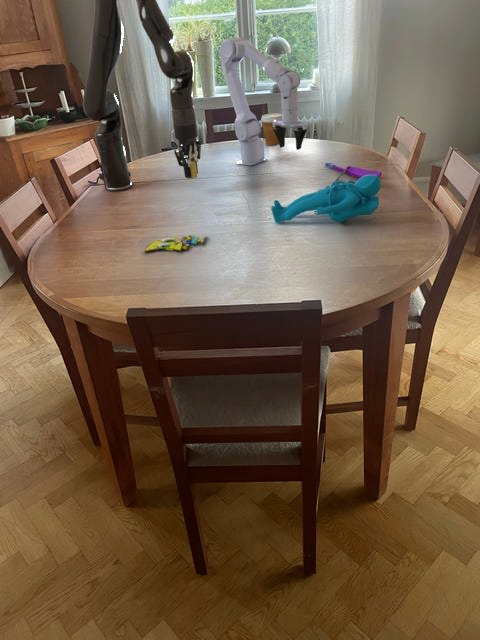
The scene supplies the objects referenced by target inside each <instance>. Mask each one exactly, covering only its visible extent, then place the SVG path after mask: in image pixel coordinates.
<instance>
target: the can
mask: <svg viewBox="0 0 480 640" xmlns="http://www.w3.org/2000/svg"><path fill="white" fill-rule="evenodd" d="M190 167H191V175H192V177H191V178H187V179H189V180H192V179H196V178H198V174H197V170H196V162H190Z"/></svg>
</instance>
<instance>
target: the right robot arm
mask: <svg viewBox="0 0 480 640" xmlns="http://www.w3.org/2000/svg"><path fill="white" fill-rule="evenodd" d="M218 52H219V56H220V59H221V61H220V62H221V63H220V65H221V72H222V74H223V77H224V80H225V84H226V86H227V90H228V93H229V96H230V100H231V103H232V106H233V109H234V112H235V115H236V118H235V120H234V127H235V131H234V134H235V137H236V138H237V140H238V142H239V147H240V159H241V160H239V161H236V164H239V165H244V166H251V167H253V166H254V165H257V164H261V163H262V162H265V161H266V160H267V158H265V143H264V141H263V139H262V138H261V137H260V134H261V132H262V125H261V123H260V121H258V119H257V116H256V114H254V113H253V112H252V111H251V109H250V107H249V103H248V99H247V96H246V93H245V90H244V87H243V82H242V80H241V77H240V74H239V70H238V68H239V66H240V63H241V62H242V61H243V59H244V58H246V59H248V60H250V61H251V62H253V63H254V64H256V65H257V66H259V67H260V68H262V69H263V74H264V75H265V76H266V77H268V78H269V79H271V80H272V82H275V83H276V85H277V87H278V89H279V90H280V91H279V92H280V97H281V99H280V100H281V101H280V102H281V115H282V121H273V127H275V129H273V131H274V133H275V134H276V136H277V139H278V142H279V144H278V145H279V148H280V149H282V148H284V147H285V146H286V131H287V129H295V130H293V134H294V138H295V148H296V150H297V151H298V150H301V149H302V145H303V141H304V138H305V135H306V134H307V132H308V129H309V122H303V121H299V120H298V119H299V118H298V117H299V116H298V114H299V112H298V111H299V109H298V108H299V107H298V87H299V86H300V84H301V76H300V74H299V73H298V72H297V71H296V70H290V68H289V67H286V66H284V65H283V64H282V63H280V60H279V59H278V58H270V59H269V58H268V57H267V56H265V55H264V54H263V53H262V52H261V51H260V50H259V49H258V48H256V47H255V46H254V45H253V44H252V43H251V41H250V40H248V39H246V38H245V37H244V36H239V37H233V38H225V39H223V40H222V42H221V44H220V46H219V49H218Z"/></svg>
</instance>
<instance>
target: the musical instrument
mask: <svg viewBox="0 0 480 640" xmlns="http://www.w3.org/2000/svg"><path fill="white" fill-rule="evenodd" d="M324 165H325V167H328V168H330V169H333V170H336V171H339V172H341V173H340V175H338V177H336V179H335V181H339V180H340V178H341V177H342V176H343V175H344V174H348V175H350V176H353V177H355V178H358V179H360V178H361V177H363V176H365V175H377V176H379V178H381V176H382V172H381V171H378V170H373V169H367V168H362V167H357V166H351V165H348V166H346V167H340V166H338V165H336V164H333V163H332V162H325V164H324ZM336 184H341V183H336ZM351 184H352V185H355V184H353V183H351Z"/></svg>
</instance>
